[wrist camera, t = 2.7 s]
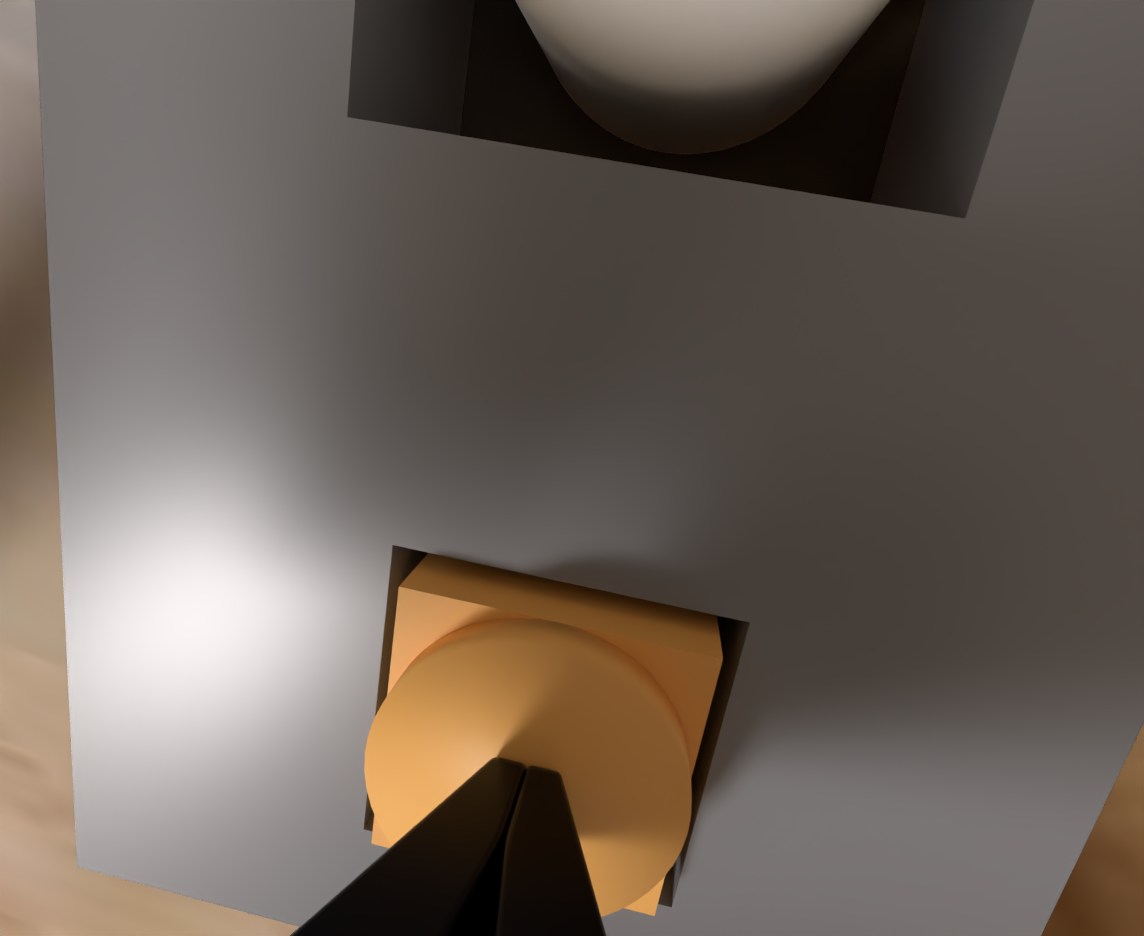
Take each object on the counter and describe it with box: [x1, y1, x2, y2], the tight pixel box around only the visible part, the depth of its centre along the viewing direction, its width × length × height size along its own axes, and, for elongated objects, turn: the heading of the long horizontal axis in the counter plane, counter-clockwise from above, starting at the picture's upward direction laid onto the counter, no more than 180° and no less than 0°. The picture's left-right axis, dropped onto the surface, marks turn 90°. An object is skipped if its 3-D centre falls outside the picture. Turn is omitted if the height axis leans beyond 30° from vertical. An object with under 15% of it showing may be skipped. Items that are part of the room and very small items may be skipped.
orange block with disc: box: [364, 553, 723, 917], centre depth 10 cm, size 4×4×5 cm
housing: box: [35, 0, 1144, 936], centre depth 10 cm, size 20×14×4 cm
